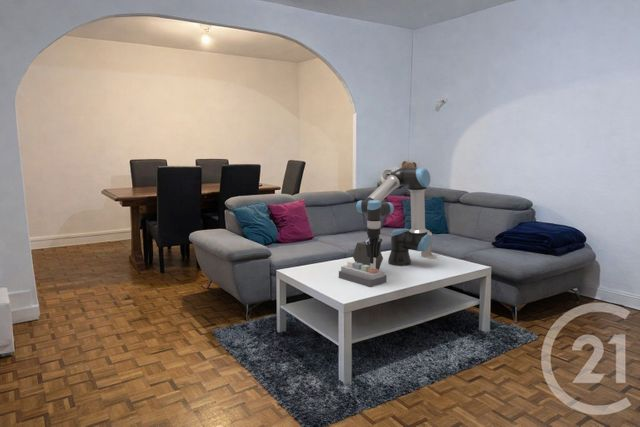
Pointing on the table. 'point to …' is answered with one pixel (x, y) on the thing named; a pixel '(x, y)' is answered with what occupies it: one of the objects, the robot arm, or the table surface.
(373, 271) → the key terracotta
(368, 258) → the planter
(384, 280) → the console
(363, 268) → the key sage
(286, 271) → the table surface
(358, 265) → the key slate
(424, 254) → the candle
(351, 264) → the key ivory
